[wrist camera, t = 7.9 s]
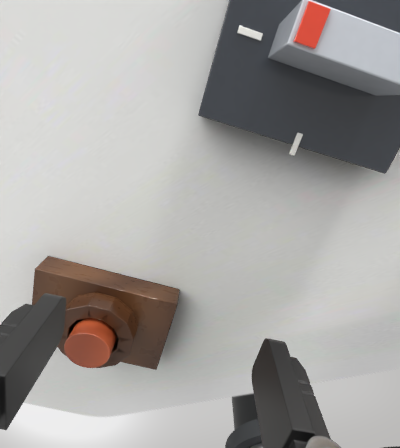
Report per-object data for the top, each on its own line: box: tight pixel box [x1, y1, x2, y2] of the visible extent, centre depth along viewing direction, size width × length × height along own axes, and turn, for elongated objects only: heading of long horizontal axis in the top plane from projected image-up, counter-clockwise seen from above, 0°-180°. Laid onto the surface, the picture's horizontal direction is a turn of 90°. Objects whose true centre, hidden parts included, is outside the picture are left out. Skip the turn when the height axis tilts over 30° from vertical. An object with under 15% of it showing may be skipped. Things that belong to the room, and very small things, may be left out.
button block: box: [32, 256, 179, 370], centre depth 26 cm, size 12×8×4 cm, turn 74°
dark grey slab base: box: [198, 0, 400, 173], centre depth 18 cm, size 13×11×3 cm
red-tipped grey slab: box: [268, 0, 400, 96], centre depth 15 cm, size 7×2×5 cm, turn 73°
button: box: [64, 318, 116, 368], centre depth 24 cm, size 4×4×2 cm
